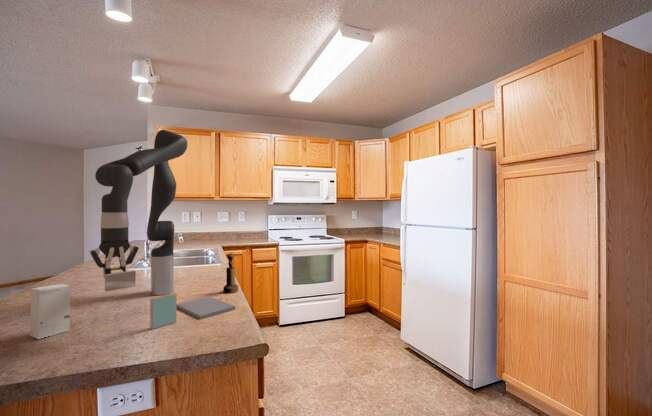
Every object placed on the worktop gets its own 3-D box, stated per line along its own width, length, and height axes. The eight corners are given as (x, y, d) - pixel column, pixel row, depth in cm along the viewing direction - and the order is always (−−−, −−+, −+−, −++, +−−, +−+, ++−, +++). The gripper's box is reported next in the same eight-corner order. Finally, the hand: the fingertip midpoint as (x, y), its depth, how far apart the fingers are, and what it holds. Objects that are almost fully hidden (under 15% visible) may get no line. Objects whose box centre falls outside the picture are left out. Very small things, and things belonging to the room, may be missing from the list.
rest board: (176, 307, 123) (176, 304, 123) (209, 299, 134) (209, 296, 134) (200, 319, 110) (200, 315, 110) (235, 309, 121) (235, 306, 121)
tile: (150, 328, 102) (149, 298, 102) (174, 321, 108) (174, 292, 108) (151, 329, 101) (151, 299, 101) (176, 322, 107) (176, 293, 107)
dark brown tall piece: (232, 288, 151) (232, 251, 151) (240, 291, 147) (240, 252, 147) (220, 291, 146) (220, 253, 146) (228, 294, 142) (228, 254, 142)
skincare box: (37, 340, 93) (37, 290, 93) (29, 336, 96) (29, 288, 96) (71, 330, 100) (71, 284, 100) (62, 327, 103) (62, 282, 103)
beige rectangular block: (94, 278, 105) (94, 264, 105) (121, 274, 111) (121, 260, 110) (105, 291, 95) (106, 275, 95) (135, 286, 101) (135, 271, 100)
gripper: (135, 224, 110) (135, 273, 110) (85, 226, 99) (86, 280, 100) (142, 225, 105) (142, 276, 105) (91, 228, 94) (91, 284, 95)
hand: (115, 278), depth 102 cm, fingers closed on beige rectangular block, 3 cm apart
